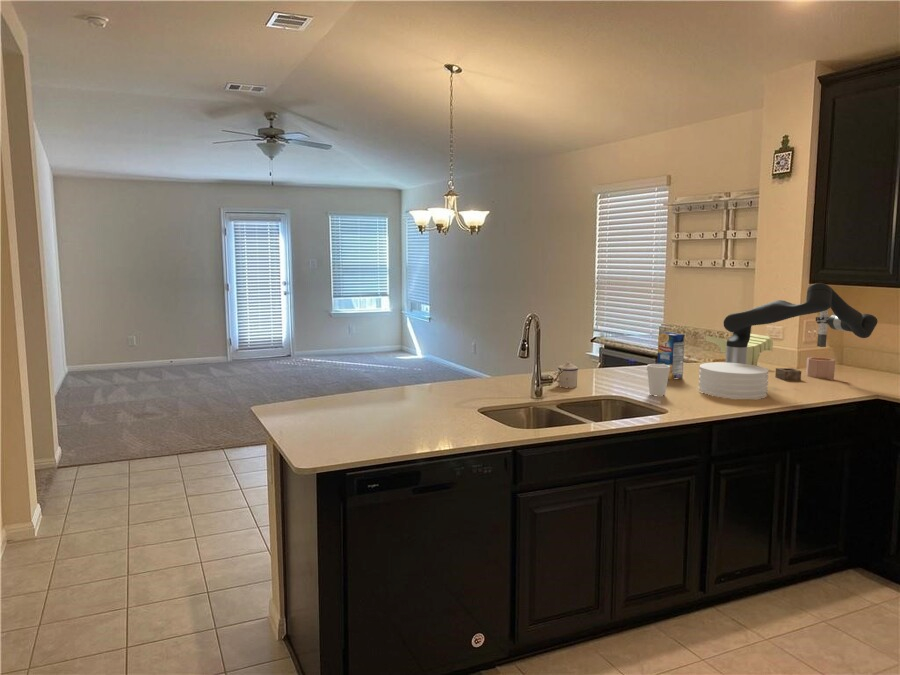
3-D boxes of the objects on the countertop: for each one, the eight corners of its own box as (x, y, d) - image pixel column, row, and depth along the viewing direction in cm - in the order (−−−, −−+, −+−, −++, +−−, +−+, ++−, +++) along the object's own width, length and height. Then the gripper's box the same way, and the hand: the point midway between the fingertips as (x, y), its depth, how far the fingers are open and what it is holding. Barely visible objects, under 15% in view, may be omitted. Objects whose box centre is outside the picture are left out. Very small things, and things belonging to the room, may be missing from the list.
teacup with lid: (570, 383, 301) (571, 359, 299) (581, 387, 293) (582, 362, 291) (548, 385, 296) (549, 361, 295) (559, 389, 288) (559, 364, 287)
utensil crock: (808, 380, 311) (810, 360, 310) (804, 376, 322) (806, 356, 320) (835, 381, 307) (836, 361, 306) (830, 377, 318) (831, 357, 316)
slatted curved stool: (725, 373, 329) (727, 339, 327) (704, 368, 344) (706, 335, 342) (771, 370, 338) (773, 337, 336) (748, 365, 353) (750, 333, 351)
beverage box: (671, 379, 312) (673, 335, 309) (656, 375, 322) (658, 332, 319) (682, 378, 314) (684, 334, 311) (667, 374, 324) (669, 332, 322)
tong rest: (784, 383, 303) (784, 371, 302) (775, 380, 311) (775, 368, 310) (800, 383, 303) (801, 371, 302) (791, 380, 311) (791, 368, 310)
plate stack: (760, 388, 292) (762, 364, 291) (772, 402, 266) (774, 375, 264) (695, 384, 300) (697, 361, 299) (701, 397, 273) (702, 371, 272)
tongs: (817, 346, 312) (820, 297, 309) (822, 346, 312) (825, 297, 309) (820, 346, 309) (824, 297, 306) (825, 346, 309) (829, 297, 306)
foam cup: (665, 398, 271) (666, 368, 270) (643, 395, 276) (645, 366, 274) (670, 394, 279) (672, 365, 278) (649, 391, 284) (650, 363, 282)
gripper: (826, 330, 295) (805, 326, 312) (855, 330, 295) (833, 326, 312) (827, 314, 294) (806, 311, 311) (857, 314, 294) (834, 311, 311)
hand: (819, 319), depth 312 cm, fingers closed on tongs, 2 cm apart
